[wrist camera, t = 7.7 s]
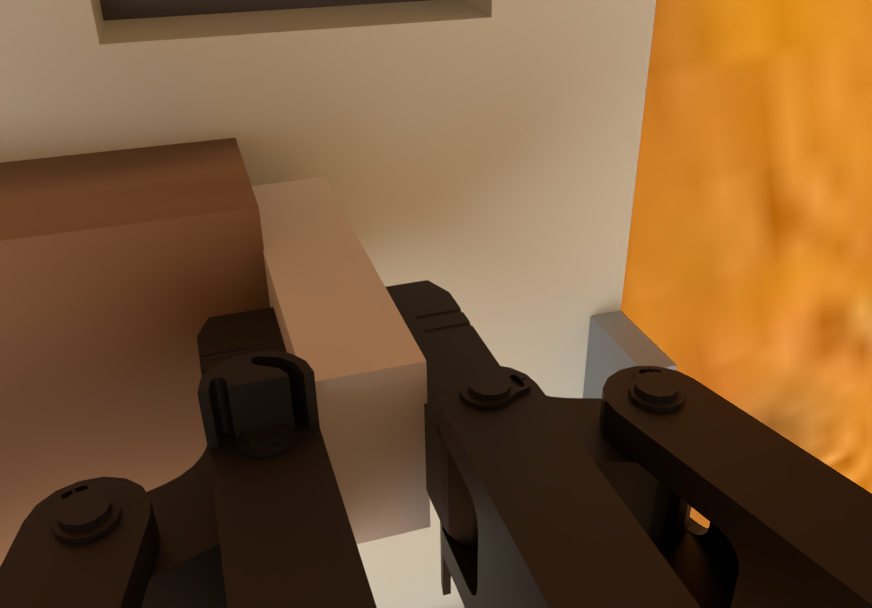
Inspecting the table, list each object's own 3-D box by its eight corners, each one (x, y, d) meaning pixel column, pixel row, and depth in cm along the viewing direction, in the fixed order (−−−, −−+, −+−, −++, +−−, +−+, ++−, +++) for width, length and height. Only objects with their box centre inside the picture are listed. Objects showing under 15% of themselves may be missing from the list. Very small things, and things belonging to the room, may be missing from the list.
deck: (-962, -977, 9) (-1975, -1731, 5) (654, -695, 14) (883, -930, 9) (-111, 692, 22) (-169, 892, 18) (553, 530, 27) (630, 657, 23)
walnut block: (-133, 176, 14) (-204, 266, 11) (235, 137, 15) (258, 208, 12) (-29, 459, 17) (-63, 590, 14) (271, 402, 18) (297, 509, 15)
